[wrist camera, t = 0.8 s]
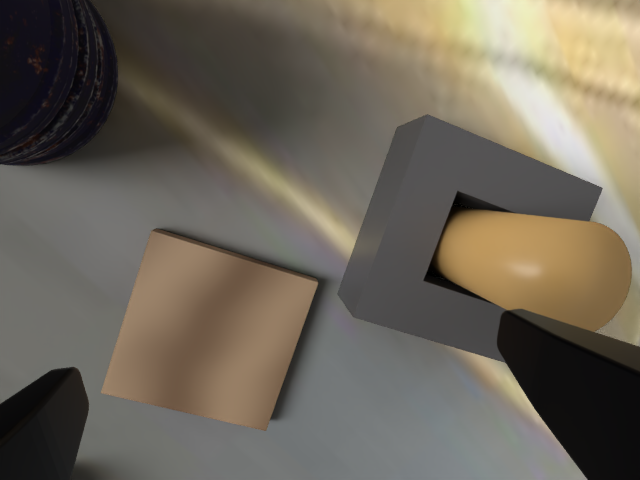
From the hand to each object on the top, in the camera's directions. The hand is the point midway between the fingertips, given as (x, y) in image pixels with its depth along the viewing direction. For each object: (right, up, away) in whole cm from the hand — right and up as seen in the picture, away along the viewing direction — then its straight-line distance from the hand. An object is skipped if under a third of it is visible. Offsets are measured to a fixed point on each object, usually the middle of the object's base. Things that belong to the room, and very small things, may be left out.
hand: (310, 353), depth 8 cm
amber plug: (+7, +2, +15) cm, 17 cm away
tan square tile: (-6, -3, +13) cm, 15 cm away
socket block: (+7, +2, +15) cm, 17 cm away
